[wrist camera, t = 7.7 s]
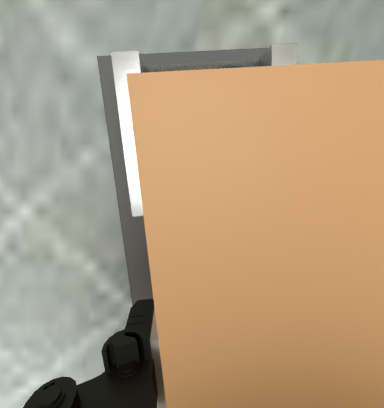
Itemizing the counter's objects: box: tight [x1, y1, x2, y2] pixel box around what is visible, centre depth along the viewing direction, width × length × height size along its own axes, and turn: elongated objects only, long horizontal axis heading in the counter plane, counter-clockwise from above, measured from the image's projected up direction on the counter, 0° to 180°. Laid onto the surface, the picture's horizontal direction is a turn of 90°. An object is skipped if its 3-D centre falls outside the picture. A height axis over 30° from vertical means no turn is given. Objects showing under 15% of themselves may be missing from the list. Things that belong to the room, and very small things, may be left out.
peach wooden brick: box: [126, 60, 384, 408], centre depth 10 cm, size 16×4×10 cm, turn 4°
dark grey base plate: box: [97, 48, 268, 305], centre depth 17 cm, size 26×12×1 cm, turn 4°
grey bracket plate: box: [111, 43, 298, 408], centre depth 15 cm, size 23×8×5 cm, turn 4°
